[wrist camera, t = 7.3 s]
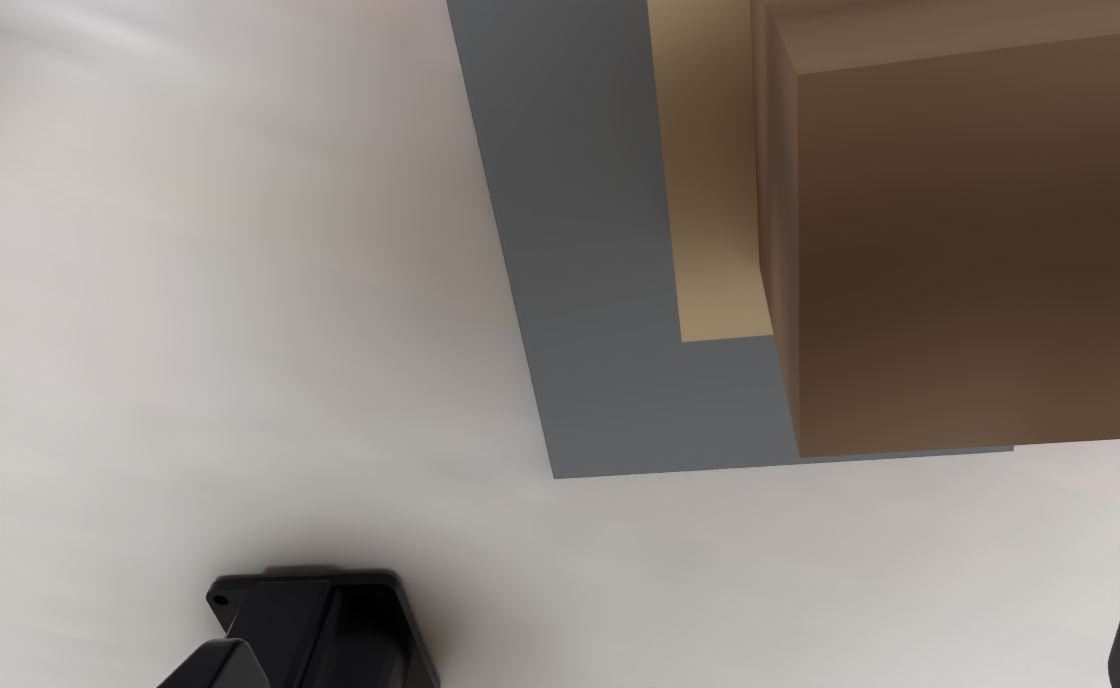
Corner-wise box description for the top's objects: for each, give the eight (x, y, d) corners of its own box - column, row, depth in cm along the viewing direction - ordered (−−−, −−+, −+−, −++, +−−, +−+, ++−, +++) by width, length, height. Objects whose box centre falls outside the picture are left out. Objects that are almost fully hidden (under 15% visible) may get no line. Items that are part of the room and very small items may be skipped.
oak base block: (1055, 202, 18) (1144, 303, 15) (676, 242, 20) (681, 342, 16) (1133, -249, 14) (1282, -247, 11) (636, -160, 15) (633, -134, 12)
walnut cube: (1063, 237, 14) (1227, 433, 10) (759, 266, 15) (799, 457, 11) (1124, -90, 12) (1380, 0, 8) (749, -34, 12) (797, 74, 8)
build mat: (1008, 440, 22) (1013, 451, 22) (555, 469, 24) (553, 479, 24) (1134, -325, 14) (1146, -326, 13) (409, -186, 16) (404, -185, 15)
